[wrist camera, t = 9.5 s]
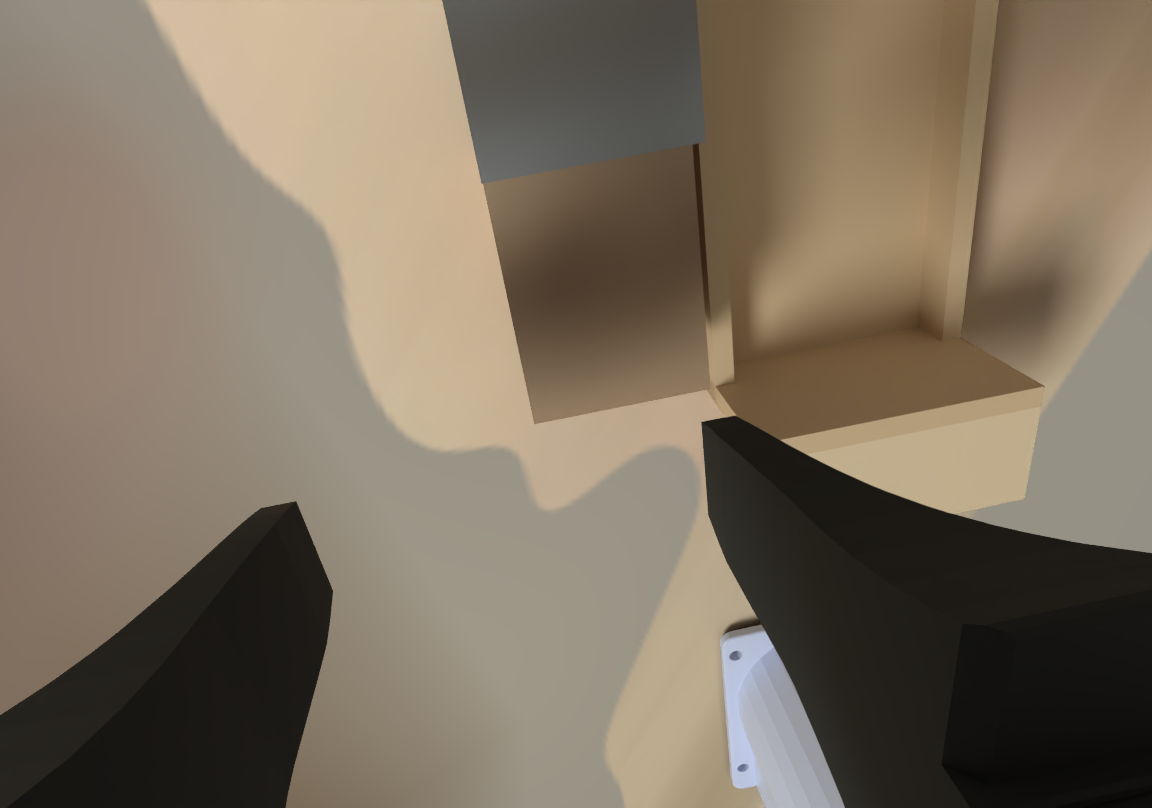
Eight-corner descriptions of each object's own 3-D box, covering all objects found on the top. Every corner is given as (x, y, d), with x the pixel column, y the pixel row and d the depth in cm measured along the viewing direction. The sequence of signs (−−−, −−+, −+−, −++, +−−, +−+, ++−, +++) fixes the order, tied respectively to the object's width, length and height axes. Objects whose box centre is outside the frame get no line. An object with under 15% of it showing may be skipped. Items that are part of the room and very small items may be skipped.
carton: (923, 417, 24) (1024, 498, 20) (708, 461, 24) (761, 554, 19) (998, -404, 15) (1223, -603, 10) (645, -350, 14) (721, -533, 10)
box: (667, 326, 21) (723, 406, 16) (523, 355, 21) (537, 444, 16) (627, -56, 17) (689, -103, 12) (444, -25, 16) (430, -59, 12)
